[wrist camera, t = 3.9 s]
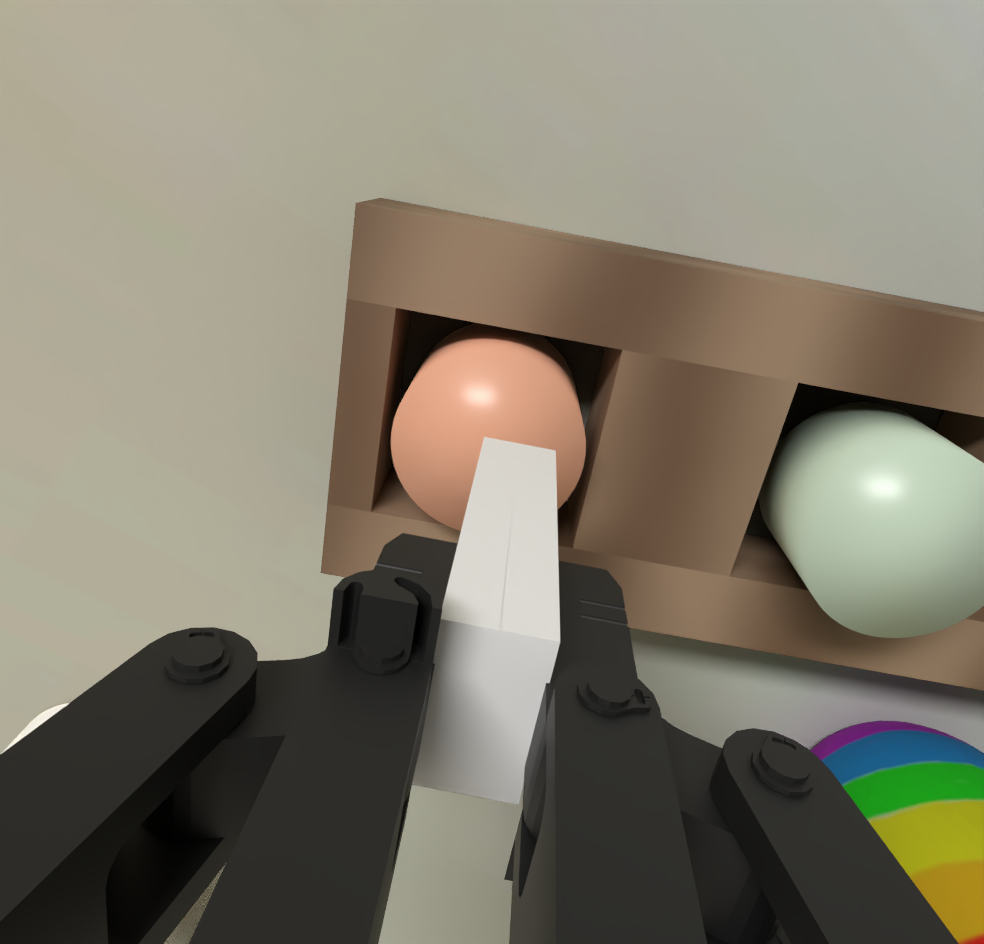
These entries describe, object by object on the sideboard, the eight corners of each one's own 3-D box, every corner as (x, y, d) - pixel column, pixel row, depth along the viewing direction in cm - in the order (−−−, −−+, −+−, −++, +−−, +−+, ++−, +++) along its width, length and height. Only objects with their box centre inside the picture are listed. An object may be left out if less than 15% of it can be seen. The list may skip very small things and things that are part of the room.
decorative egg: (719, 742, 26) (824, 1058, 17) (948, 652, 24) (1208, 953, 15) (805, 883, 29) (936, 1225, 19) (1018, 812, 27) (1277, 1154, 17)
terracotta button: (593, 338, 20) (606, 372, 17) (558, 491, 22) (562, 549, 19) (425, 307, 20) (403, 335, 17) (403, 463, 22) (380, 517, 19)
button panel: (1380, 387, 20) (1516, 422, 17) (1182, 674, 24) (1267, 740, 21) (380, 198, 19) (355, 203, 17) (345, 524, 23) (320, 573, 20)
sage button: (969, 420, 19) (1064, 475, 16) (897, 574, 21) (969, 653, 18) (792, 387, 19) (849, 435, 16) (736, 545, 21) (776, 619, 17)
